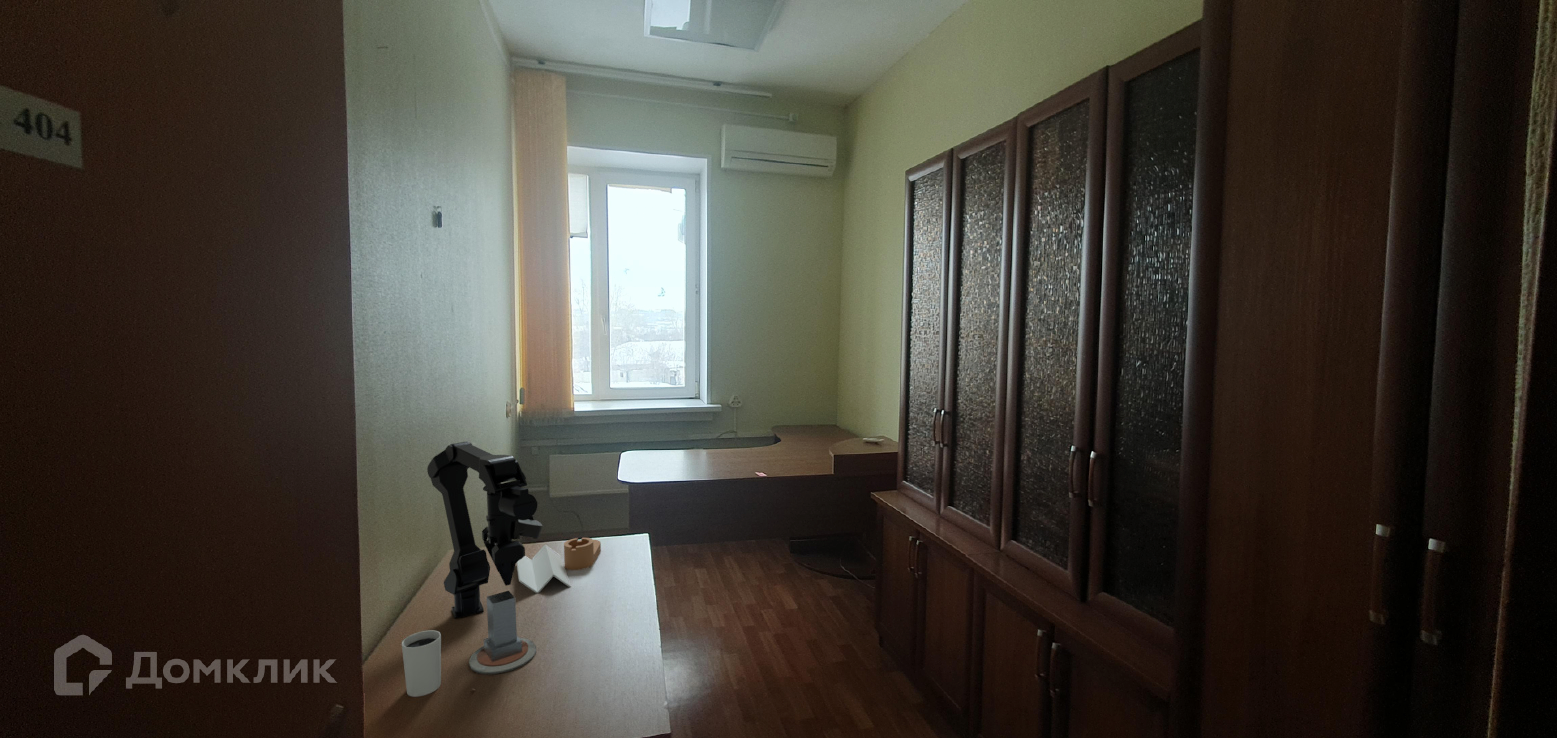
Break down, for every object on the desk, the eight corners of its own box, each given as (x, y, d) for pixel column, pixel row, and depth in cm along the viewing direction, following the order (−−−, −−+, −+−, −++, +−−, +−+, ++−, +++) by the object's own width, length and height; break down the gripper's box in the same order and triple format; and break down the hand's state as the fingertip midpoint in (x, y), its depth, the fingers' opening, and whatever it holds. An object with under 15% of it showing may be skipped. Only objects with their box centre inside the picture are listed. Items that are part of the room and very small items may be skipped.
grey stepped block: (484, 650, 130) (481, 596, 129) (513, 640, 134) (511, 588, 133) (492, 662, 125) (489, 606, 124) (522, 651, 129) (520, 597, 128)
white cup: (415, 678, 122) (412, 630, 121) (449, 677, 122) (447, 629, 122) (397, 699, 115) (394, 648, 114) (433, 697, 116) (430, 647, 115)
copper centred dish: (465, 652, 131) (465, 647, 131) (528, 635, 139) (528, 629, 138) (474, 681, 121) (473, 675, 120) (542, 661, 128) (541, 655, 128)
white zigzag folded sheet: (546, 572, 185) (561, 555, 187) (554, 605, 163) (571, 586, 164) (514, 549, 181) (530, 533, 182) (518, 581, 158) (536, 561, 160)
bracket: (590, 570, 176) (589, 547, 176) (561, 571, 175) (560, 548, 175) (603, 547, 194) (602, 526, 193) (576, 548, 193) (576, 527, 193)
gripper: (548, 515, 135) (550, 583, 136) (529, 496, 150) (532, 557, 151) (493, 525, 129) (496, 596, 130) (480, 504, 144) (483, 567, 145)
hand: (504, 578), depth 139 cm, fingers open, 9 cm apart
